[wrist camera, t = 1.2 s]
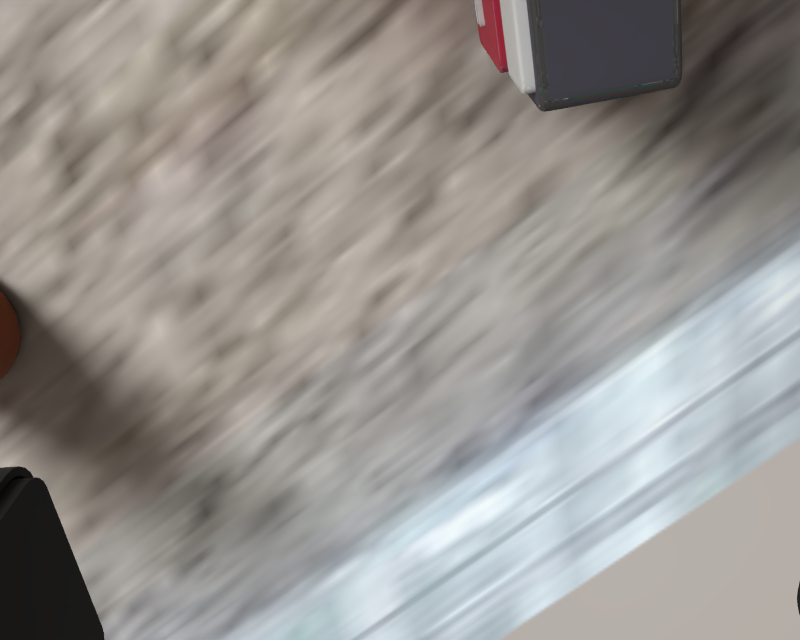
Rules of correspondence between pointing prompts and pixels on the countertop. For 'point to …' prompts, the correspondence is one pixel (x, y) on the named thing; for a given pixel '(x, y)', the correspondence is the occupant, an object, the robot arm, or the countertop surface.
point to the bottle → (8, 335)
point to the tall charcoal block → (583, 47)
